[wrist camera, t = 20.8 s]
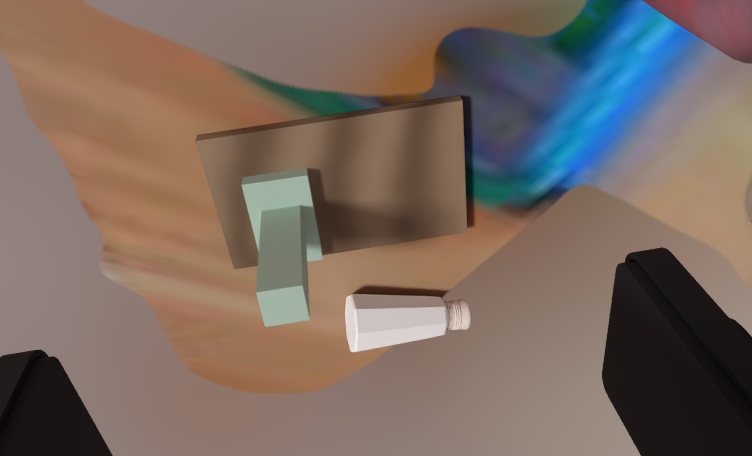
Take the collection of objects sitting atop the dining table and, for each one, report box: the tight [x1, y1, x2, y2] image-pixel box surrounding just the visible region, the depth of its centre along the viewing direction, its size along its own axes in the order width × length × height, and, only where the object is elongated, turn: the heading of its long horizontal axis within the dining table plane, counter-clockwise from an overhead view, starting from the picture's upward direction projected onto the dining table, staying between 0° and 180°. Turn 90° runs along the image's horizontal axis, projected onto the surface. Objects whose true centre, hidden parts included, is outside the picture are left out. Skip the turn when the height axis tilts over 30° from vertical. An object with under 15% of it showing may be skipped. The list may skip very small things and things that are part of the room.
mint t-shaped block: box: [241, 168, 323, 327], centre depth 45 cm, size 5×8×11 cm, turn 6°
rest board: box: [196, 95, 467, 269], centre depth 50 cm, size 20×12×1 cm, turn 96°
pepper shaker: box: [345, 294, 471, 352], centre depth 56 cm, size 5×5×11 cm
